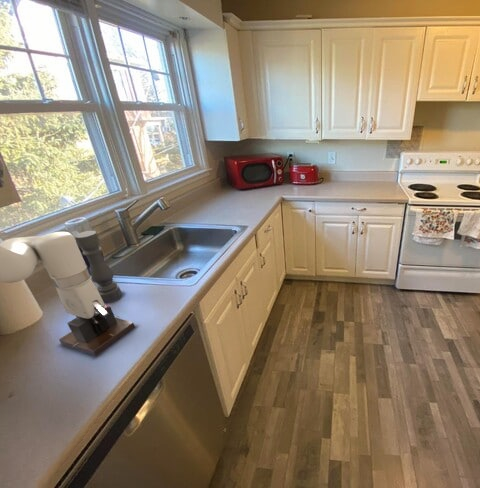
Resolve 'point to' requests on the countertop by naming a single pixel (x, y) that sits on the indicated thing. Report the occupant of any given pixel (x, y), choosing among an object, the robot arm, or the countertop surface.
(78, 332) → the clock
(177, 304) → the countertop surface
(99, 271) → the candle holder
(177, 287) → the countertop surface
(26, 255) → the robot arm
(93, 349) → the stand
